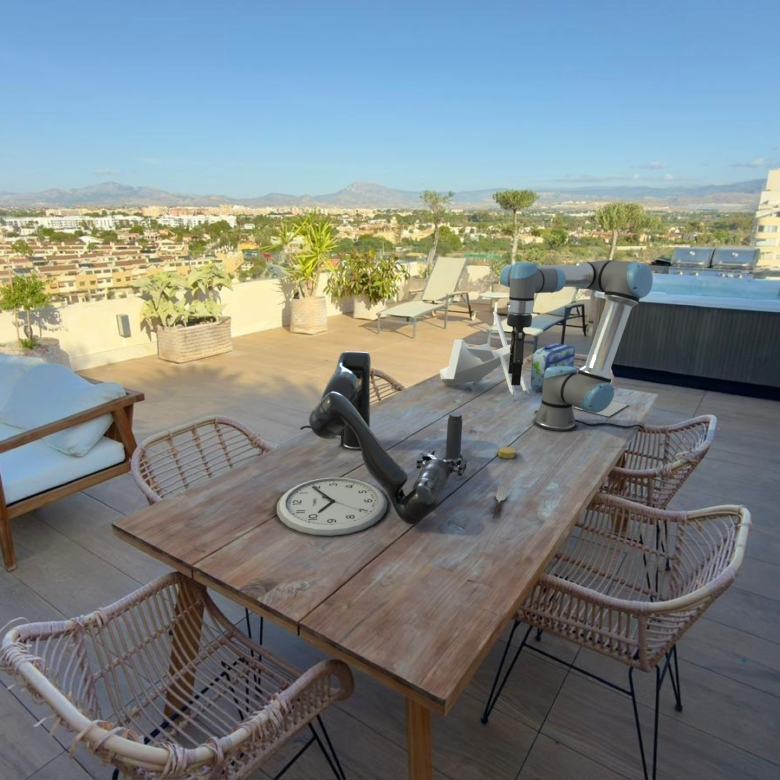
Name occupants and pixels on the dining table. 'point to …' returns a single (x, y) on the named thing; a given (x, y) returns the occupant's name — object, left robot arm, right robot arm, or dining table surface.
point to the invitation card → (610, 408)
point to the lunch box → (550, 361)
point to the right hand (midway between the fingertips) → (514, 379)
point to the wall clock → (331, 506)
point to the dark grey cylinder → (454, 435)
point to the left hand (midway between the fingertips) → (446, 454)
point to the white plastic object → (479, 362)
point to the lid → (506, 452)
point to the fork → (499, 498)
